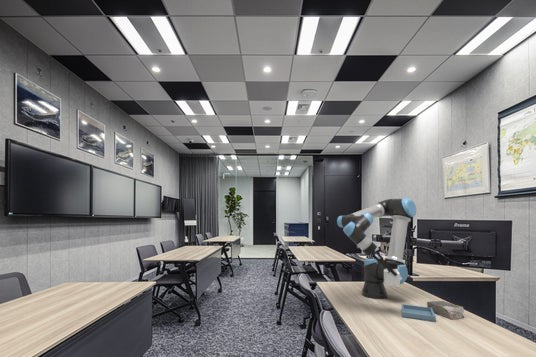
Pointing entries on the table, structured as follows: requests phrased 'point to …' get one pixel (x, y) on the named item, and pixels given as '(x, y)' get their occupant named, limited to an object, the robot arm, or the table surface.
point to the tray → (418, 312)
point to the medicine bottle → (388, 277)
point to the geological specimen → (446, 309)
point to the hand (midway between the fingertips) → (398, 278)
